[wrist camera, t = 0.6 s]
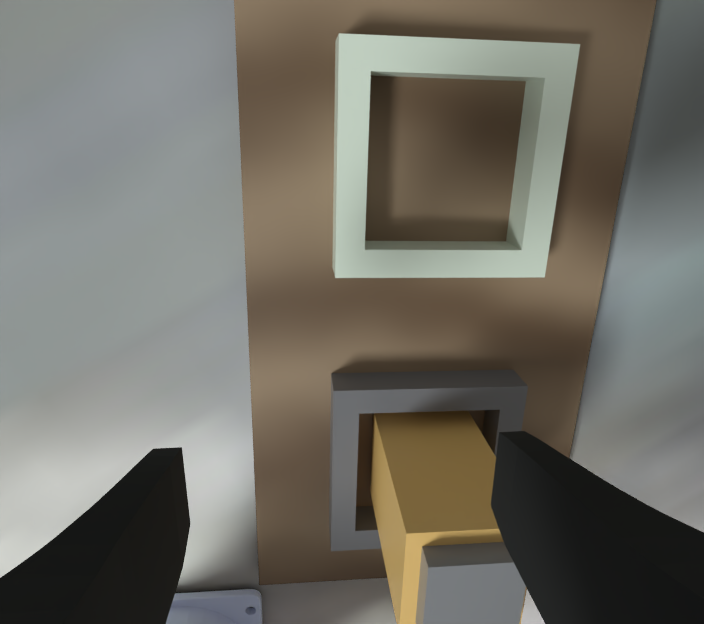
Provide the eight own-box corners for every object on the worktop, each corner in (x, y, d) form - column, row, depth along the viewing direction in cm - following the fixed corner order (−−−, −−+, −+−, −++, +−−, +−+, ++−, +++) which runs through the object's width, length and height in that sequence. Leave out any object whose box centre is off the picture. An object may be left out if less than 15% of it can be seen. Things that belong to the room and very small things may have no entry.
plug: (458, 487, 24) (530, 649, 16) (370, 491, 23) (403, 658, 16) (466, 408, 22) (549, 546, 15) (373, 411, 22) (412, 554, 15)
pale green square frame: (527, 266, 21) (544, 277, 19) (332, 267, 20) (335, 278, 18) (558, 50, 18) (580, 44, 17) (335, 40, 17) (338, 33, 16)
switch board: (539, 552, 27) (548, 567, 26) (260, 568, 25) (259, 585, 24) (647, -45, 18) (667, -55, 17) (234, -72, 17) (230, -83, 16)
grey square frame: (492, 517, 25) (504, 541, 23) (329, 526, 24) (331, 551, 22) (513, 369, 22) (527, 386, 21) (330, 373, 21) (333, 390, 20)
